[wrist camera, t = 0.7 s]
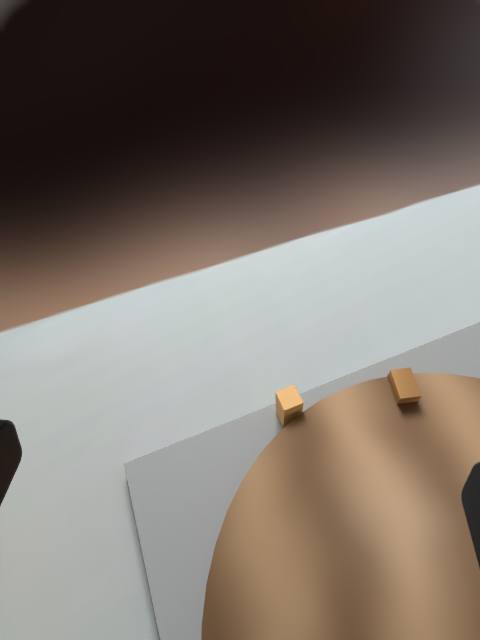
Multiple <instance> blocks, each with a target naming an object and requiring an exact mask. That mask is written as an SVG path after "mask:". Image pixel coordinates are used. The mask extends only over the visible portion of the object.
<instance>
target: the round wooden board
mask: <svg viewBox="0 0 480 640" xmlns="http://www.w3.org/2000/svg"><path fill="white" fill-rule="evenodd" d="M477 462H480V378H475V377H468V376H462V375H456V374H439V373H414V374H413V372H412V369H411V367H410V368H402V369H394V370H390V372H389V374H388V375H387V377H382V378H377V379H372V380H368V381H365V382H362V383H359V384H356V385H353V386H350V387H347V388H344V389H342V390H340V391H338V392H336V393H334V394H332V395H330V396H328V397H326V398H324V399H322V400H320V401H319V402H317V403H315V404H314V405H312V406H311V407H309V408H308V409H306V410H305V411H303V412H302V413H300V414H299V415H298V416H297V417H296V418H294V419H293V420H292V421H291V422H290V423H289V424H288V425H286V426H285V427H284V428H283V429H282V430H281V431H280V432H278V434H277V435H276V436H275V437H274V438H273V439H272V440H271V442H270V443H269V444H268V445H267V446H266V447H265V449H264V450H263V451H262V452H261V453H260V454H259V456H258V457H257V459H256V460H255V462H254V463H253V465H252V466H251V468H250V469H249V471H248V472H247V474H246V475H245V477H244V478H243V480H242V482H241V484H240V486H239V488H238V490H237V492H236V494H235V496H234V498H233V500H232V502H231V504H230V506H229V508H228V510H227V513H226V516H225V519H224V521H223V524H222V527H221V530H220V533H219V536H218V539H217V541H216V544H215V548H214V553H213V557H212V562H211V566H210V570H209V575H208V579H207V584H206V592H205V601H204V610H203V618H202V630H201V640H480V569H479V565H478V561H477V557H476V554H475V550H474V546H473V542H472V539H471V535H470V531H469V527H468V524H467V520H466V516H465V512H464V509H463V505H462V500H461V493H462V488H463V486H464V484H465V482H466V480H467V478H468V476H469V474H470V472H471V470H472V467H473V466H474V464H476V463H477Z"/></svg>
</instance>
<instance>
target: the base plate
mask: <svg viewBox="0 0 480 640" xmlns="http://www.w3.org/2000/svg"><path fill="white" fill-rule="evenodd" d="M410 367H411V369H412V372H413V374H414V373H439V374H456V375H462V376H468V377H475V378H480V323H477V324H475V325H472V326H470V327H467V328H465V329H462V330H460V331H457V332H454V333H452V334H449V335H447V336H444V337H442V338H439V339H437V340H434V341H432V342H429V343H427V344H424V345H422V346H419V347H417V348H414V349H412V350H409V351H407V352H404V353H402V354H399V355H397V356H394V357H392V358H389V359H387V360H384V361H382V362H379V363H376V364H374V365H371V366H369V367H366V368H364V369H361V370H359V371H356V372H354V373H351V374H349V375H346V376H344V377H341V378H339V379H336V380H334V381H331V382H329V383H326V384H324V385H321V386H319V387H316V388H314V389H311V390H309V391H306V392H304V393H301V394H299V393H298V391H297V389H296V387H295V385H293V386H290V387H288V388H285V389H282V390H280V391H277V392H276V404H273V405H271V406H268V407H266V408H263V409H261V410H258V411H256V412H253V413H251V414H248V415H246V416H243V417H241V418H238V419H236V420H233V421H231V422H228V423H226V424H223V425H221V426H218V427H215V428H213V429H210V430H208V431H205V432H203V433H200V434H198V435H195V436H193V437H190V438H188V439H185V440H183V441H180V442H178V443H175V444H173V445H170V446H168V447H165V448H163V449H160V450H158V451H155V452H153V453H150V454H148V455H145V456H143V457H140V458H137V459H135V460H132V461H130V462H127V463H125V464H124V467H125V472H126V476H127V481H128V486H129V491H130V496H131V501H132V506H133V510H134V515H135V520H136V525H137V530H138V535H139V539H140V544H141V549H142V554H143V559H144V564H145V569H146V573H147V578H148V583H149V588H150V593H151V598H152V602H153V607H154V612H155V617H156V622H157V627H158V632H159V636H160V640H201V630H202V618H203V610H204V601H205V592H206V584H207V579H208V575H209V570H210V566H211V562H212V557H213V553H214V548H215V544H216V541H217V539H218V536H219V533H220V530H221V527H222V524H223V521H224V519H225V516H226V513H227V510H228V508H229V506H230V504H231V502H232V500H233V498H234V496H235V494H236V492H237V490H238V488H239V486H240V484H241V482H242V480H243V478H244V477H245V475H246V474H247V472H248V471H249V469H250V468H251V466H252V465H253V463H254V462H255V460H256V459H257V457H258V456H259V454H260V453H261V452H262V451H263V450H264V449H265V447H266V446H267V445H268V444H269V443H270V442H271V440H272V439H273V438H274V437H275V436H276V435H277V434H278V432H280V431H281V430H282V429H283V428H284V427H285V426H286V425H288V424H289V423H290V422H291V421H292V420H293V419H294V418H296V417H297V416H298V415H299V414H300V413H302V412H303V411H305V410H306V409H308V408H309V407H311V406H312V405H314V404H315V403H317V402H319V401H320V400H322V399H324V398H326V397H328V396H330V395H332V394H334V393H336V392H338V391H340V390H342V389H344V388H347V387H350V386H353V385H356V384H359V383H362V382H365V381H368V380H372V379H377V378H382V377H387V375H388V374H389V372H390V370H394V369H402V368H410Z"/></svg>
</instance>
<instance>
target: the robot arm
mask: <svg viewBox="0 0 480 640" xmlns="http://www.w3.org/2000/svg"><path fill="white" fill-rule="evenodd" d="M21 457H22V448H21V445H20V441H19V438H18V435H17V432H16V429H15V426H14V424H13V423H12V422H11V421H9V420H0V506H1V503H2V501H3V499H4V497H5V494H6V492H7V490H8V488H9V486H10V483H11V481H12V479H13V477H14V474H15V472H16V470H17V468H18V466H19V463H20V461H21ZM461 500H462V505H463V509H464V512H465V516H466V520H467V524H468V527H469V531H470V535H471V539H472V542H473V546H474V550H475V554H476V557H477V561H478V565H479V569H480V462H477V463H476V464H474V466H473V467H472V470H471V472H470V474H469V476H468V478H467V480H466V482H465V484H464V486H463V488H462V493H461Z"/></svg>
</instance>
